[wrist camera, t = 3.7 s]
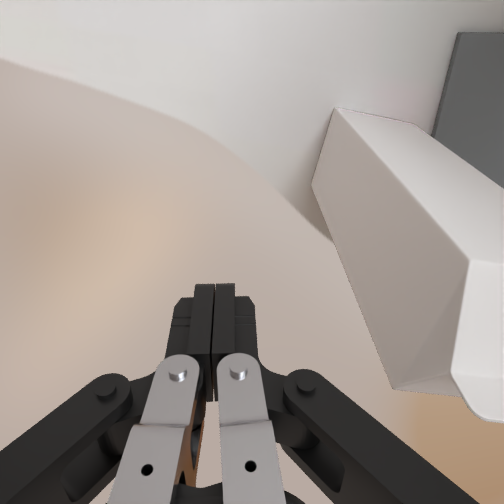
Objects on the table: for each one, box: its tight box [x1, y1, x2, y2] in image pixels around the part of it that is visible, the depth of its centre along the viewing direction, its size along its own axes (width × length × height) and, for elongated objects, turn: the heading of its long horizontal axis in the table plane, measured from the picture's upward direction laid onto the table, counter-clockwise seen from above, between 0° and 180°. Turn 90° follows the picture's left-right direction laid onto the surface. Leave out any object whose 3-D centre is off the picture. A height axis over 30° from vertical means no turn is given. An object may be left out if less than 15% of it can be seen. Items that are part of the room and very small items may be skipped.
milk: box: [311, 107, 504, 423], centre depth 20 cm, size 6×6×22 cm
